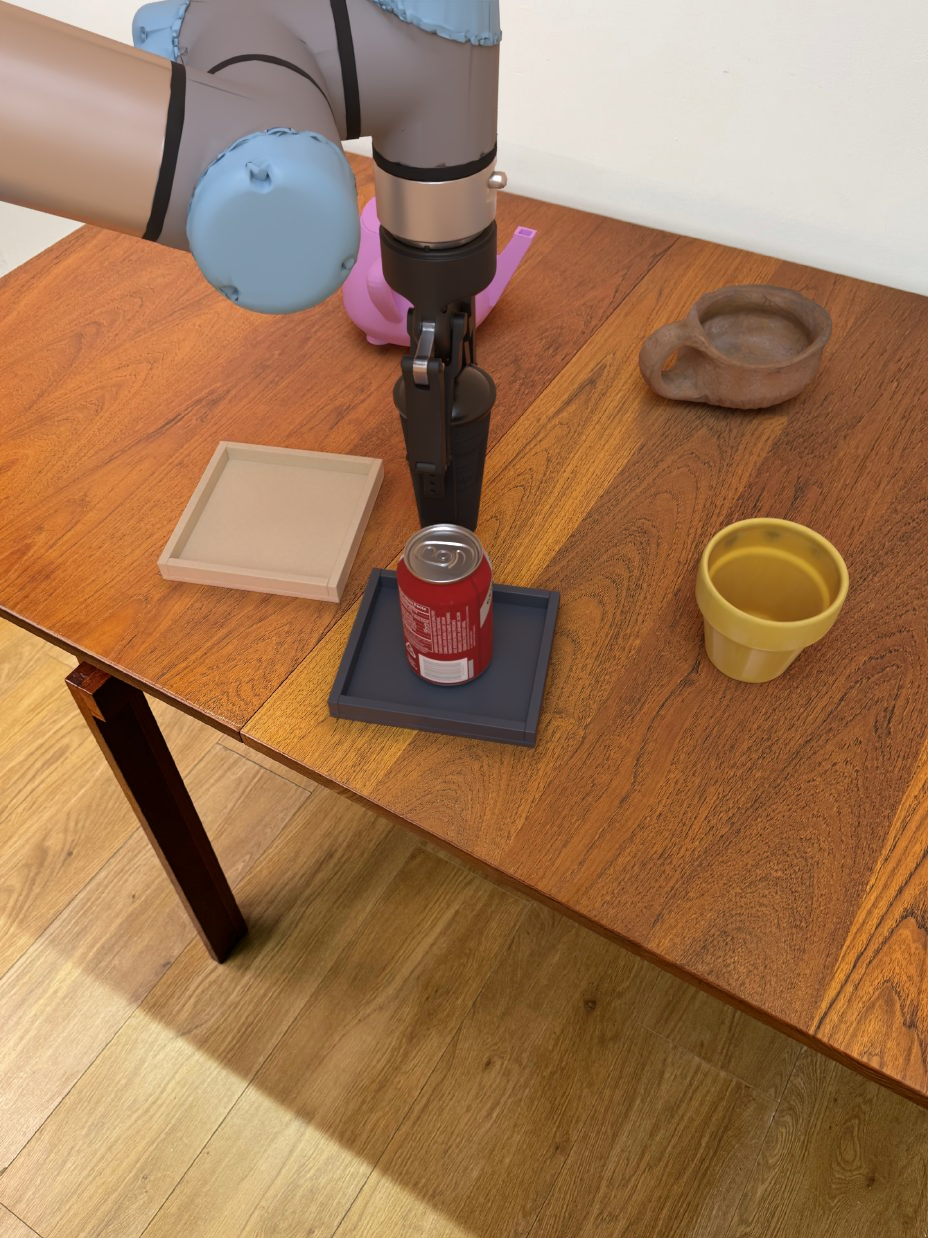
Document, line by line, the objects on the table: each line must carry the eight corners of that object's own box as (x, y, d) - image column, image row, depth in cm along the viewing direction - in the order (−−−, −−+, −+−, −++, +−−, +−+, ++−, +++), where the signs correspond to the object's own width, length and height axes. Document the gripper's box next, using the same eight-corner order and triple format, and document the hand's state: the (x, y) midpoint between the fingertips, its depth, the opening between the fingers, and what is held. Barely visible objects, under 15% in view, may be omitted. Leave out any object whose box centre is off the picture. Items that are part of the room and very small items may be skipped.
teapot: (499, 408, 98) (498, 270, 86) (313, 372, 102) (288, 236, 90) (553, 297, 109) (559, 162, 98) (383, 269, 114) (370, 137, 102)
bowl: (709, 462, 90) (705, 357, 84) (617, 414, 100) (608, 318, 95) (856, 393, 95) (863, 290, 89) (754, 354, 106) (754, 260, 100)
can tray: (330, 717, 76) (327, 701, 74) (375, 583, 84) (372, 567, 82) (534, 748, 73) (535, 732, 72) (559, 608, 82) (560, 591, 80)
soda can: (475, 701, 75) (472, 599, 66) (393, 677, 77) (378, 574, 68) (504, 634, 79) (505, 529, 70) (425, 613, 81) (416, 507, 72)
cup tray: (163, 579, 85) (156, 562, 83) (225, 457, 94) (220, 440, 93) (339, 603, 83) (336, 586, 81) (384, 475, 92) (382, 458, 91)
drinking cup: (476, 482, 87) (476, 275, 71) (507, 542, 82) (514, 334, 67) (392, 502, 85) (373, 295, 70) (418, 564, 81) (404, 357, 65)
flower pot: (819, 713, 74) (855, 633, 67) (679, 696, 76) (698, 615, 68) (813, 608, 81) (845, 523, 73) (684, 593, 82) (703, 508, 75)
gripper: (467, 310, 56) (471, 580, 74) (520, 153, 68) (512, 419, 86) (340, 297, 57) (373, 567, 75) (413, 144, 69) (427, 409, 87)
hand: (447, 488), depth 81 cm, fingers closed on drinking cup, 6 cm apart
